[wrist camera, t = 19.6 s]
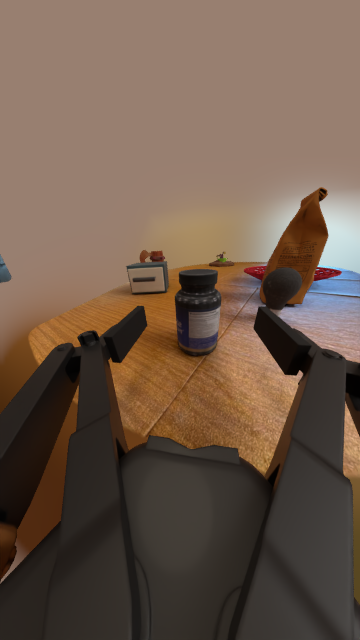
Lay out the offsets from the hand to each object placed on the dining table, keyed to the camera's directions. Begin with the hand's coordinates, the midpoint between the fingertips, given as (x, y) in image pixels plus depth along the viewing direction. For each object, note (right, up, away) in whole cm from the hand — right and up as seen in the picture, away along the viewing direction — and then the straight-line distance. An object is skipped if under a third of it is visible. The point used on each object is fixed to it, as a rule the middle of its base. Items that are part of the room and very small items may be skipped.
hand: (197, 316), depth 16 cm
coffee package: (+26, +5, +22) cm, 34 cm away
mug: (-17, +26, +66) cm, 73 cm away
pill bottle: (+1, -4, +6) cm, 7 cm away
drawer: (-14, +12, +36) cm, 41 cm away
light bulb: (+16, -1, +12) cm, 20 cm away
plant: (+37, +50, +108) cm, 124 cm away
